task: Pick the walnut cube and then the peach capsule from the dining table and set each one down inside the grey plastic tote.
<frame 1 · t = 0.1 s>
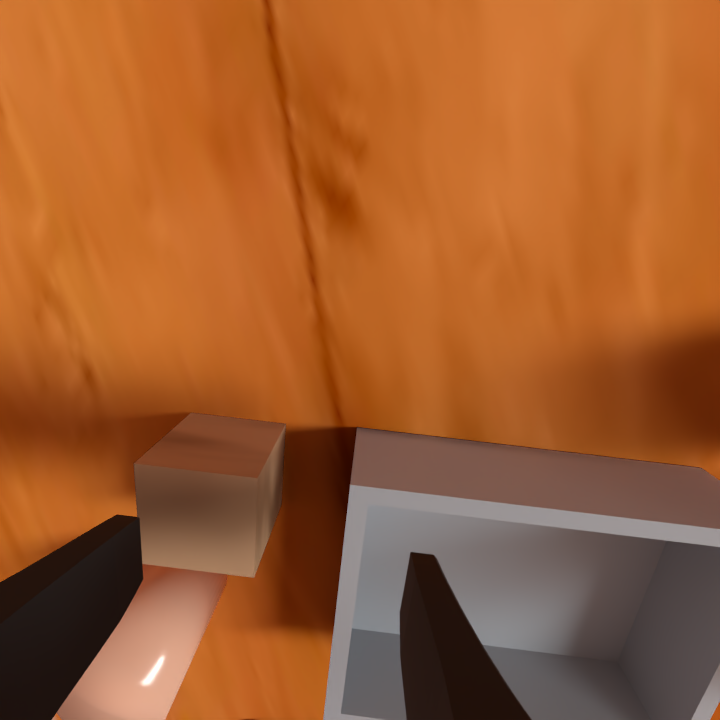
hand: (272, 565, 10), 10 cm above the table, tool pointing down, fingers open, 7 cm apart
tote: (500, 554, 22), on the table
peach capsule: (186, 571, 23), on the table
walnut cube: (238, 459, 21), on the table
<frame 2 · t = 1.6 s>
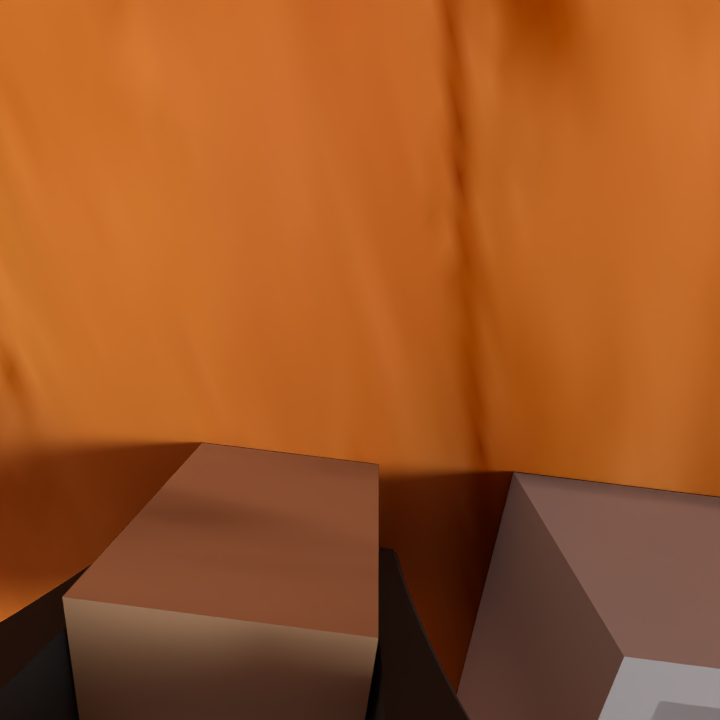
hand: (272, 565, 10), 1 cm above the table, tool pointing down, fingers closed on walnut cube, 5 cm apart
walnut cube: (285, 527, 12), on the table, touching gripper
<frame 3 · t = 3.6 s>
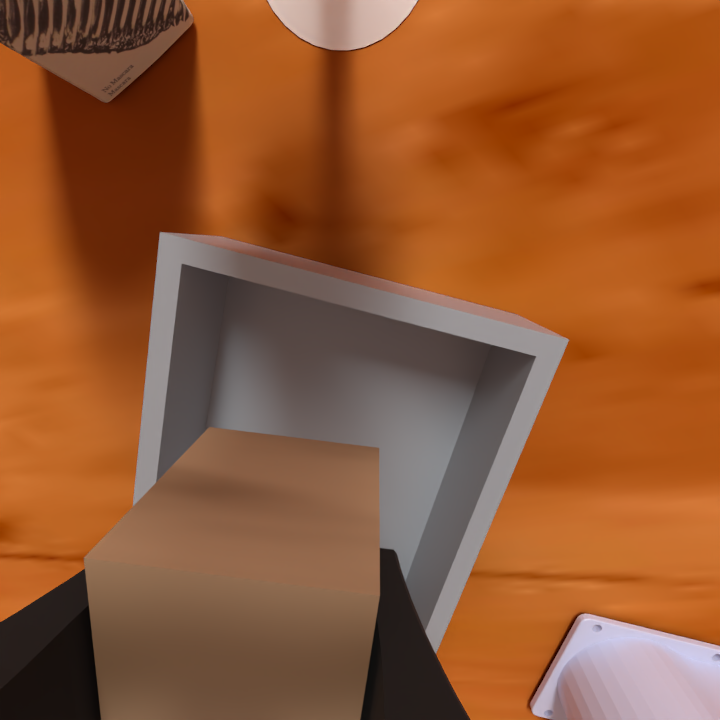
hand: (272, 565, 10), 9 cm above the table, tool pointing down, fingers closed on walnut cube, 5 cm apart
tote: (326, 446, 20), on the table
box: (121, 15, 15), on the table
walnut cube: (288, 510, 12), point 8 cm above the table, touching gripper
when the fingers open (4 cm above the table, at t = 5.4 s): walnut cube drops 1 cm, resting on tote.
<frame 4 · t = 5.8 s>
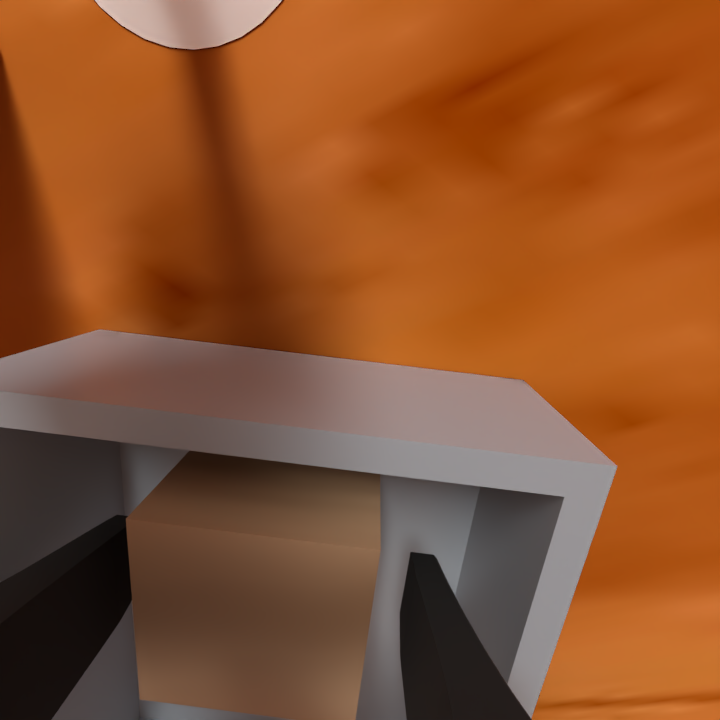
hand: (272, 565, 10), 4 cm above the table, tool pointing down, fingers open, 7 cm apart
tote: (292, 574, 15), on the table
walnut cube: (297, 489, 13), point 1 cm above the table, touching tote
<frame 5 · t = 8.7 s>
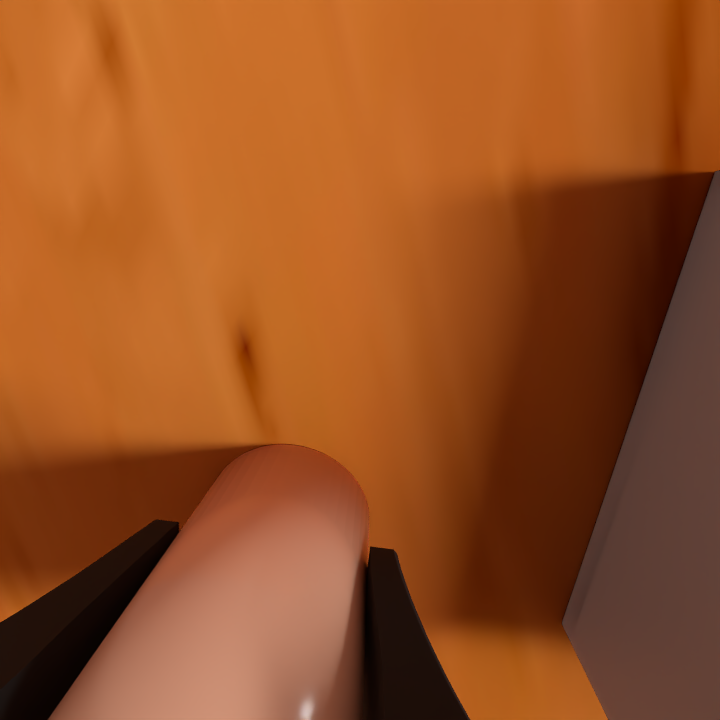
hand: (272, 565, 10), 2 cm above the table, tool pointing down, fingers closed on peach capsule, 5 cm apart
peach capsule: (289, 516, 12), on the table, touching gripper
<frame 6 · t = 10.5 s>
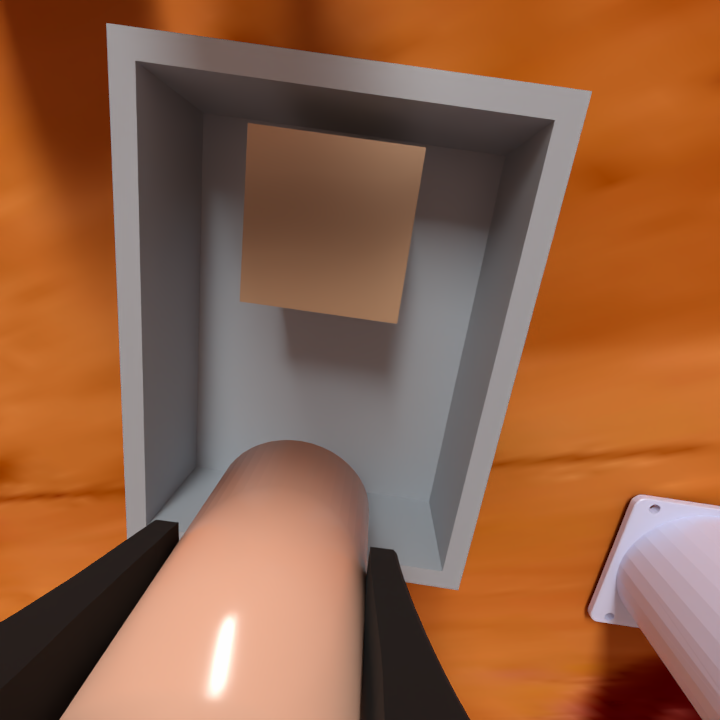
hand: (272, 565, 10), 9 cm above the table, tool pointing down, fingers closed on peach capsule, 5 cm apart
tote: (332, 329, 18), on the table
peach capsule: (293, 507, 13), point 7 cm above the table, touching gripper
walnut cube: (342, 234, 16), point 1 cm above the table, touching tote
when the fingers open (4 cm above the table, at t = 12.1 s): peach capsule stays where it is, resting on tote.
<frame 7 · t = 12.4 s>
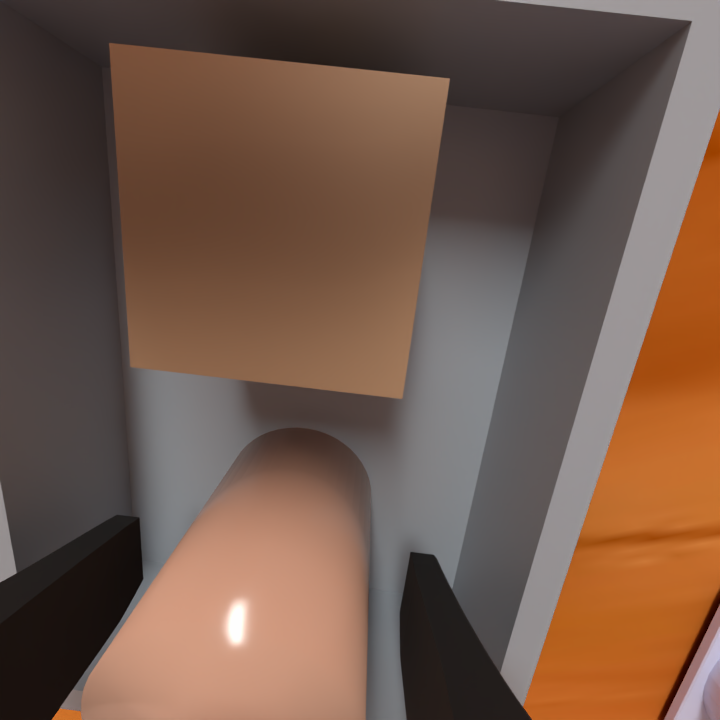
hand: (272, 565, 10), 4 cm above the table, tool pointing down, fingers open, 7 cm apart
tote: (310, 374, 13), on the table
peach capsule: (299, 492, 13), point 1 cm above the table, touching tote
walnut cube: (317, 243, 11), point 1 cm above the table, touching tote
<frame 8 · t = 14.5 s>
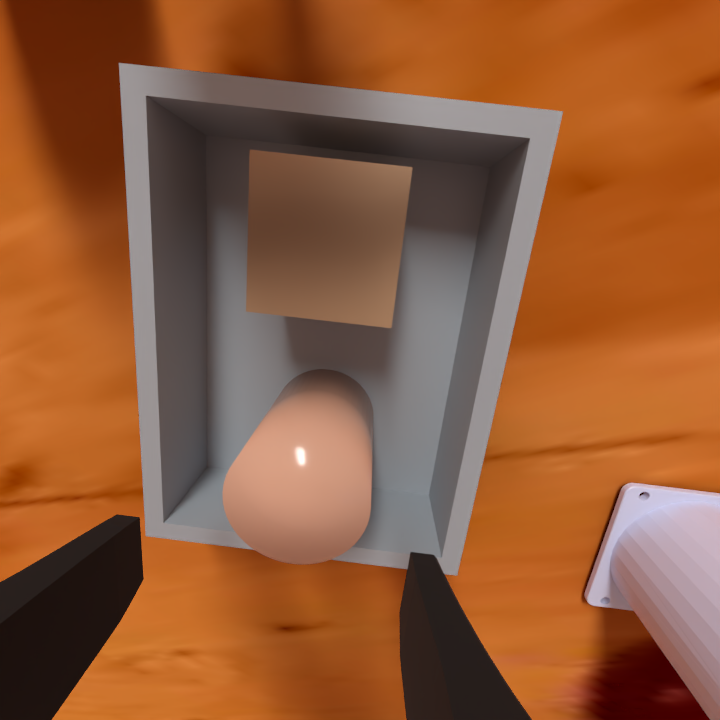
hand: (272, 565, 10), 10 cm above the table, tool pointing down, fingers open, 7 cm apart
tote: (332, 333, 19), on the table
peach capsule: (324, 416, 20), point 1 cm above the table, touching tote
walnut cube: (339, 244, 17), point 1 cm above the table, touching tote
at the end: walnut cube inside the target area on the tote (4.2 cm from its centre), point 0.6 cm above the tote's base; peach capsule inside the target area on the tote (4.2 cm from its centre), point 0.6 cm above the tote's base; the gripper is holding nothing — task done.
